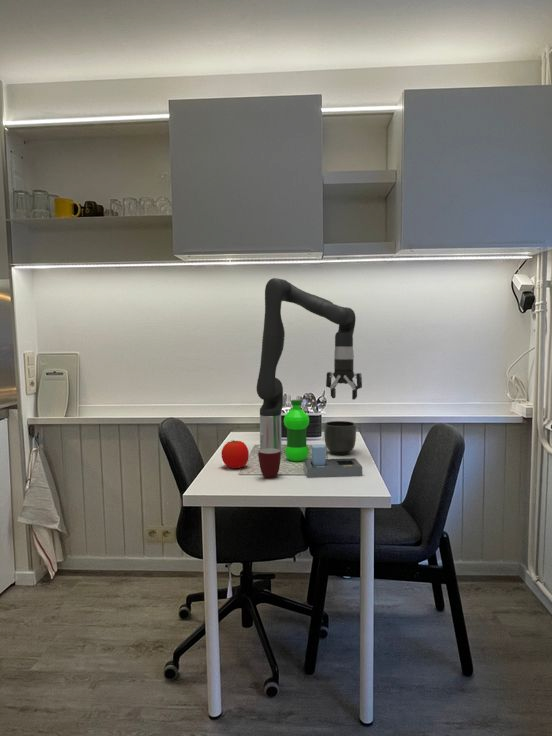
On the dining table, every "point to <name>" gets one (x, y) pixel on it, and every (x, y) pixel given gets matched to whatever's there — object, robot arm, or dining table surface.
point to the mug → (269, 462)
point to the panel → (333, 468)
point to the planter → (340, 436)
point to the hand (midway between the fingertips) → (343, 398)
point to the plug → (318, 455)
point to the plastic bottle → (296, 432)
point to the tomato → (235, 454)
